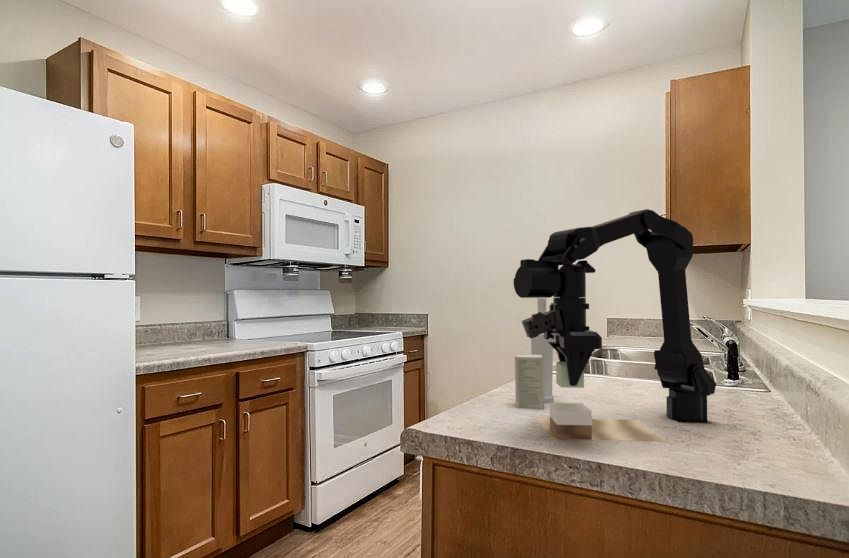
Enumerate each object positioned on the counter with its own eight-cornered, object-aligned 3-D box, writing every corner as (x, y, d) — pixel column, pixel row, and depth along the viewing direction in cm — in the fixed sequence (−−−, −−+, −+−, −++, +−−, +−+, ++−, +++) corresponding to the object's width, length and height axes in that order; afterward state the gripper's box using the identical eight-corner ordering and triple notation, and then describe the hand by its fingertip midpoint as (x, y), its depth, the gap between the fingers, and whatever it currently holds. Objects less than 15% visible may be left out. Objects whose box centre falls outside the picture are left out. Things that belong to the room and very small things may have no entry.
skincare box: (543, 407, 109) (543, 354, 110) (543, 412, 105) (543, 357, 105) (515, 406, 111) (515, 353, 111) (514, 410, 106) (514, 356, 107)
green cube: (578, 383, 89) (577, 361, 89) (584, 387, 85) (583, 365, 85) (556, 383, 89) (556, 361, 89) (561, 387, 85) (561, 364, 85)
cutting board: (636, 422, 97) (636, 419, 97) (668, 444, 83) (668, 441, 83) (537, 421, 98) (537, 418, 98) (551, 442, 84) (551, 438, 84)
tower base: (582, 429, 89) (582, 416, 90) (591, 439, 83) (591, 425, 84) (550, 429, 90) (549, 415, 90) (556, 439, 84) (556, 424, 84)
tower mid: (582, 416, 90) (582, 403, 90) (591, 425, 84) (591, 411, 84) (549, 415, 90) (549, 402, 90) (556, 424, 84) (556, 410, 84)
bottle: (531, 405, 111) (531, 298, 112) (530, 400, 117) (530, 298, 117) (554, 406, 111) (554, 298, 111) (552, 401, 116) (551, 298, 116)
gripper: (518, 297, 97) (518, 374, 97) (533, 298, 79) (534, 393, 78) (573, 297, 96) (574, 374, 96) (602, 298, 78) (603, 394, 77)
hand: (570, 383), depth 87 cm, fingers closed on green cube, 4 cm apart
